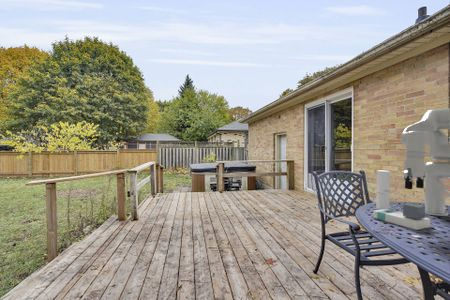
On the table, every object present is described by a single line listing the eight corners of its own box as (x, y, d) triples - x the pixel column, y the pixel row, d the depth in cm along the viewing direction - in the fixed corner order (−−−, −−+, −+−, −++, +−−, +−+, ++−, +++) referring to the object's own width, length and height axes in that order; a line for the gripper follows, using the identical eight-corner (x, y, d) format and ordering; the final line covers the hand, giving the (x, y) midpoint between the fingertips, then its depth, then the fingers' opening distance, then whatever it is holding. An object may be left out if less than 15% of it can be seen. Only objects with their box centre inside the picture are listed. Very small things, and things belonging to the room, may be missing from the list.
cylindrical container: (391, 211, 156) (392, 171, 155) (378, 210, 157) (379, 171, 157) (386, 208, 163) (387, 170, 162) (374, 207, 164) (375, 170, 164)
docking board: (373, 217, 141) (373, 210, 141) (386, 215, 146) (386, 208, 146) (416, 229, 121) (416, 221, 121) (430, 226, 126) (430, 218, 126)
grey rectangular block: (409, 222, 132) (410, 203, 132) (424, 226, 126) (425, 206, 125) (402, 224, 129) (403, 204, 129) (417, 228, 123) (418, 207, 123)
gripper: (416, 155, 134) (415, 186, 134) (397, 154, 127) (396, 188, 127) (433, 155, 127) (432, 188, 127) (413, 155, 120) (412, 190, 120)
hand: (414, 188), depth 127 cm, fingers open, 9 cm apart
